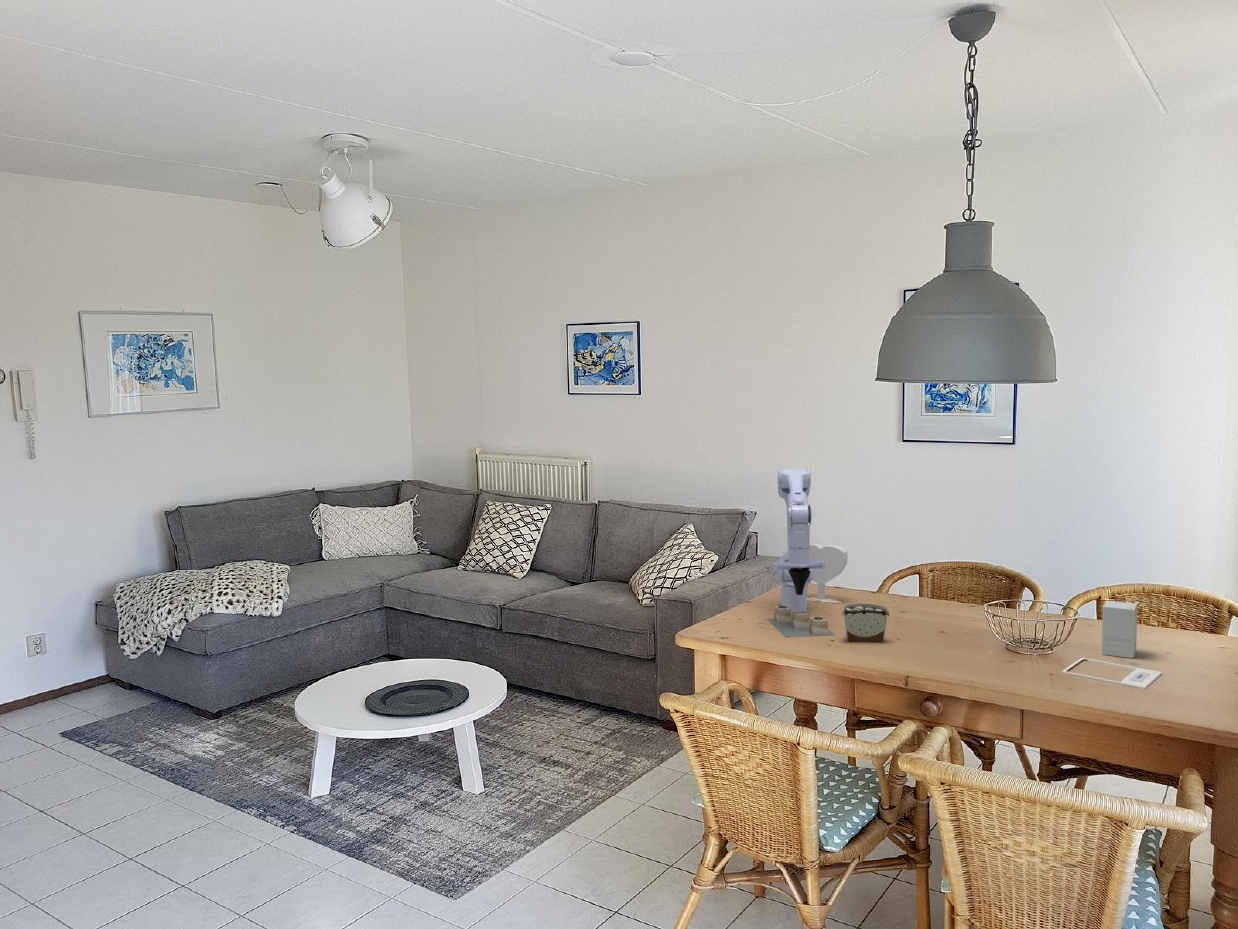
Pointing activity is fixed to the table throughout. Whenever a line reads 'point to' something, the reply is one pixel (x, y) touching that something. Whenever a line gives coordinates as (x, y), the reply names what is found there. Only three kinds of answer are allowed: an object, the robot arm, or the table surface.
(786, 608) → the dotted block
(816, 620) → the dotted block
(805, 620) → the plain block
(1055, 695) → the table surface
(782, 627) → the tapping mat
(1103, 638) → the supplement box
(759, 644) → the table surface
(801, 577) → the robot arm
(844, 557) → the heart sculpture
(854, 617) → the food container
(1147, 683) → the photo frame
